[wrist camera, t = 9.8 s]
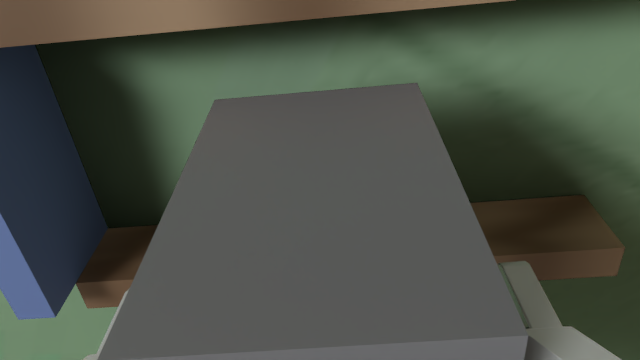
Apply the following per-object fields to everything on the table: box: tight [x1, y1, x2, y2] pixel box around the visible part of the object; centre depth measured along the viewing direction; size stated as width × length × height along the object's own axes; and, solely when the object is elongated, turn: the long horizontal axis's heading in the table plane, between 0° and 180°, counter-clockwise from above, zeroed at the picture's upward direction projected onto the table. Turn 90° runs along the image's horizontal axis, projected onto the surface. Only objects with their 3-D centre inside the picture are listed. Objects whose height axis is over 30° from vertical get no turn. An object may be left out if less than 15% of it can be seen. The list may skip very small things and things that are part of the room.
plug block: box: [97, 83, 529, 360], centre depth 10 cm, size 4×6×7 cm
